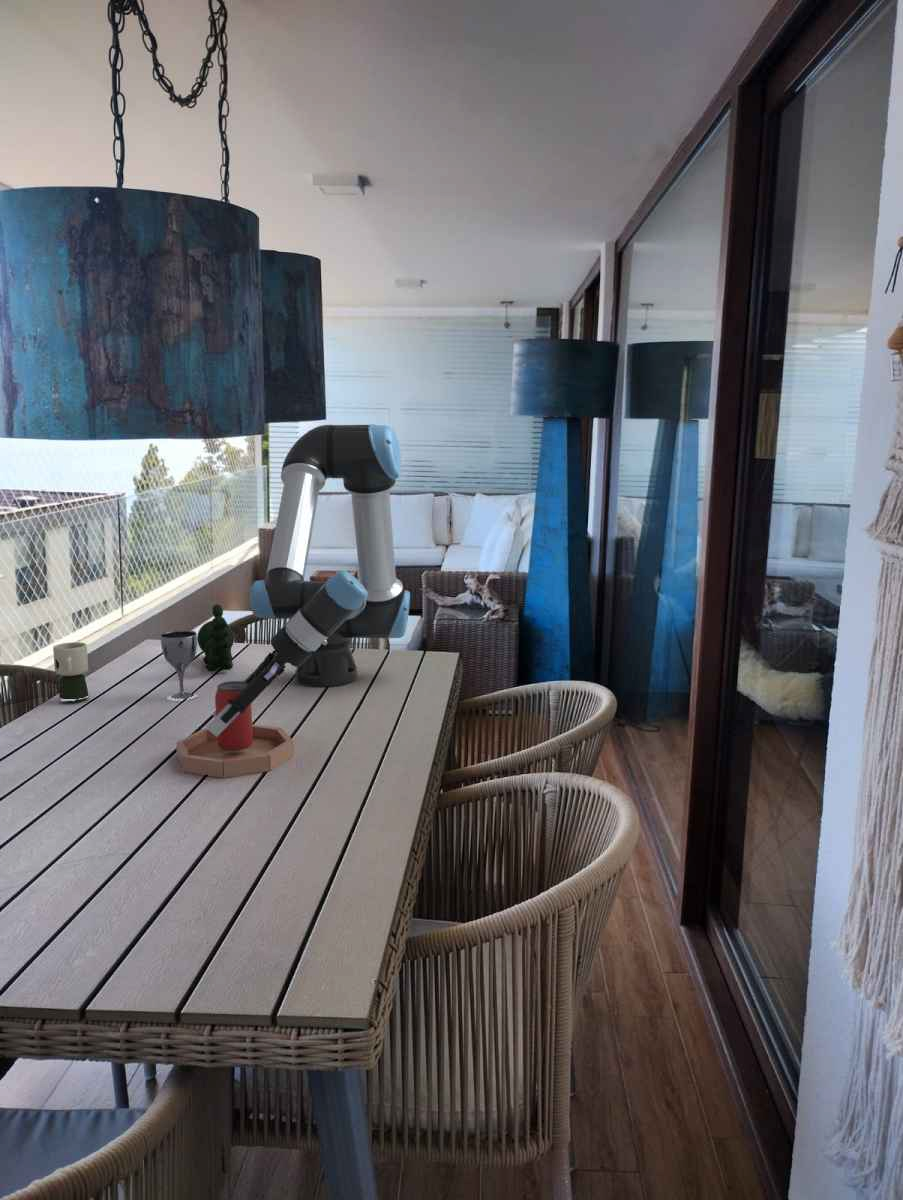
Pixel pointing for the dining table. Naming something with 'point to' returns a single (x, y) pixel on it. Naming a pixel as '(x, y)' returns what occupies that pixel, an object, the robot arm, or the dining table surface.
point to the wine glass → (179, 654)
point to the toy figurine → (216, 641)
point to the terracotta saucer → (234, 753)
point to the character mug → (71, 669)
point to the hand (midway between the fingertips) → (215, 725)
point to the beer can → (241, 727)
